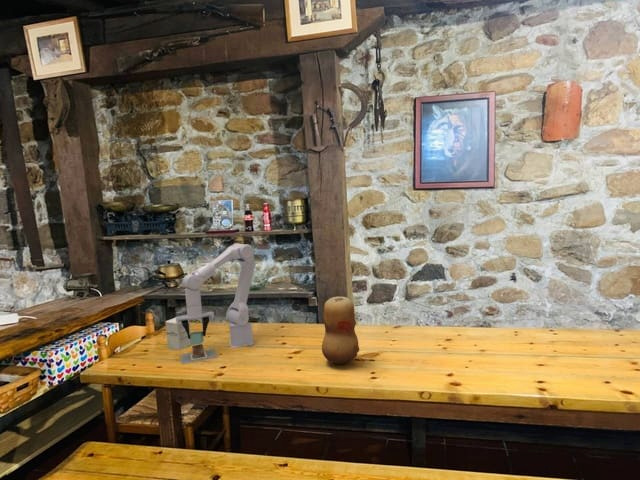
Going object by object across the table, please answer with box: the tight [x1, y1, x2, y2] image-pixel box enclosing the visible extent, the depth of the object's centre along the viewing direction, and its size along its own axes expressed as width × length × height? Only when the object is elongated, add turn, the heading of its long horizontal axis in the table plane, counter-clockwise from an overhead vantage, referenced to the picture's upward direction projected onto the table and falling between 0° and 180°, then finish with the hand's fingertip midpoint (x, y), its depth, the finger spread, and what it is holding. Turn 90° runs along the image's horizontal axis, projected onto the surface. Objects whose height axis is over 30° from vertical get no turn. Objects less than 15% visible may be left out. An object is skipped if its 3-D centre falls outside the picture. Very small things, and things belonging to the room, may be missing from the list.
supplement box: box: [165, 317, 192, 351], centre depth 183 cm, size 7×7×13 cm
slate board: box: [179, 348, 219, 365], centre depth 172 cm, size 14×11×1 cm
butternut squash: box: [321, 296, 360, 365], centre depth 157 cm, size 14×13×25 cm
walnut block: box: [191, 343, 205, 359], centre depth 171 cm, size 4×4×4 cm
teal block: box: [190, 330, 205, 346], centre depth 171 cm, size 4×4×4 cm
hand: (196, 336), depth 171 cm, fingers closed on teal block, 5 cm apart
